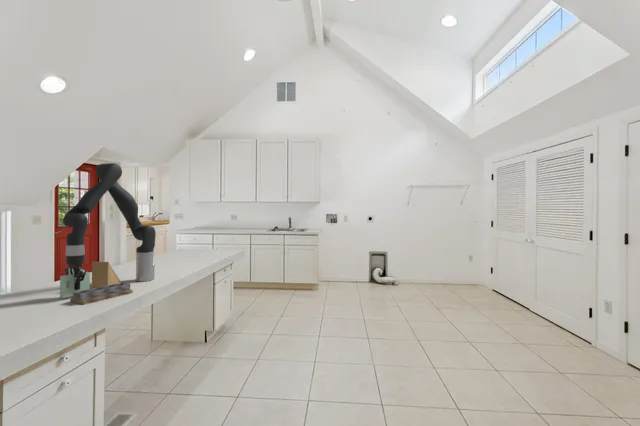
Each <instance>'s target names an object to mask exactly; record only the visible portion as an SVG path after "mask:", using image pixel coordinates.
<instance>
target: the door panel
mask: <svg viewBox="0 0 640 426" xmlns="http://www.w3.org/2000/svg"><path fill="white" fill-rule="evenodd" d="M90 274H91V273H90V272H89V271H86V274H85V277H84V280H83V281H81V282H80V289H79V290H74V283H75V282H74V278H73V274H71V275H66V274H65V275H60V277H59V283H60V285H59V298H63V299H65V298H69V297H73V293H74V292H78V291H83V290H88V289H91V288H90V285H91V284H90V277H91V276H90ZM76 276H78V275H76ZM77 278H78V277H77ZM81 278H82V277H81Z"/></svg>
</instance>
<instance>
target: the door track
mask: <svg viewBox="0 0 640 426" xmlns="http://www.w3.org/2000/svg"><path fill="white" fill-rule="evenodd" d="M125 294H126V295H130V294H133V289H131V283H127V282H122V283H117V284H113V285H108V286H103V287H98V288H93V289H92V288H90V289H88V290H83V291H78V292H74V293H73V296H72V298H70V299H69V300H70V303H74V304H79V305H87V304H88V305H89V304H92V303H96V302H101V301H105V300H109V299H108V298H110V299H113V297H114V298H117V296H118V297H121V296H120V295H122V296H125ZM104 299H105V300H104ZM100 300H101V301H100Z"/></svg>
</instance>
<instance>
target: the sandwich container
mask: <svg viewBox="0 0 640 426" xmlns="http://www.w3.org/2000/svg"><path fill="white" fill-rule="evenodd" d="M117 283H123V282H122V281H121V279H120V278H119V277H118V275H117V274H116V272H115V271H114V269H113V267H112V266H111V264H110V262H108V261H92V262H91V289H93V288H98V287H103V286H108V285H113V284H117Z"/></svg>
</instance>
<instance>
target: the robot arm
mask: <svg viewBox="0 0 640 426" xmlns="http://www.w3.org/2000/svg"><path fill="white" fill-rule="evenodd" d="M95 173H96V176H97V178H98V179H99V181H98V182H97V183H96V184H95V185H94V186H92V187H91V188H90V189H88V190H87V191H85V193H84V194H83V195H82V196H81V198H80V199H79V200H78V202H77V203H76V204H75V205H74V206H73V207H72V208H71V209H69V210H68V211H67V212H66V213H65V214H64V216H63V219H62V223H63V225H64V226H65V227H67V228H72V230H71V231H70V232H69V233H67V234H66V245H65V265H66V266H67V265H68V266H67V268H66V267H65V268H64V273H65V275H71V274H73V278H74V282H75V283H74V290H79V289H80V282H81V281H83V280H84V277H85V274H86V272H87V270H86V269H83V264H85V263H86V254H85V253H86V250H85V248H86V246H85V234H86V232H87V229H88V226H89V225H88V224H89V220H88V217H87V215H88V214H90V213H91V212H92V211H93V210H94V209H95V208H96V206H97V205H98V203H99V202H100V200H101V199H102V198H103V197H104V195H105V194H106V193H107V192H108V193H109V195H110V196H111V198H112V199H113V201H114V203H115V205H116V207H117V208H118V209H119V211H120V212H121V214H122V216H123V218H124V219H125V220H126V222H127V223H126V224H128V227H129V229H130V231H131V233H132V235H133V238H134V239H136V240H137V241H141V245H139V246H137V247H136V250H135V251H136V255H135V257H136V259H135V261H136V262H135V282H149V281H153V280H155V265H156V264H155V263H154V249H155V246H156V229H155V228H154V226H152V225H143V224H142V222H141V221H140V219H139V217H138V216H139V215H138V214H139V205H138V204H137V202H136V200H135V198H134V197H133V195H132V194H131V193H130V192H128V191H127V190H126V189H125V188H124V187H122V185H120V184H119V182H118V180H120V178H121V176H122V174H123V169H122V167H121V165H119V164H117V163H115V162H114V163H112V162H111V163H100V164H97V166H96V168H95ZM86 214H87V215H86ZM76 275H78V276H76ZM77 277H78V278H77ZM81 277H82V278H81Z"/></svg>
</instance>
